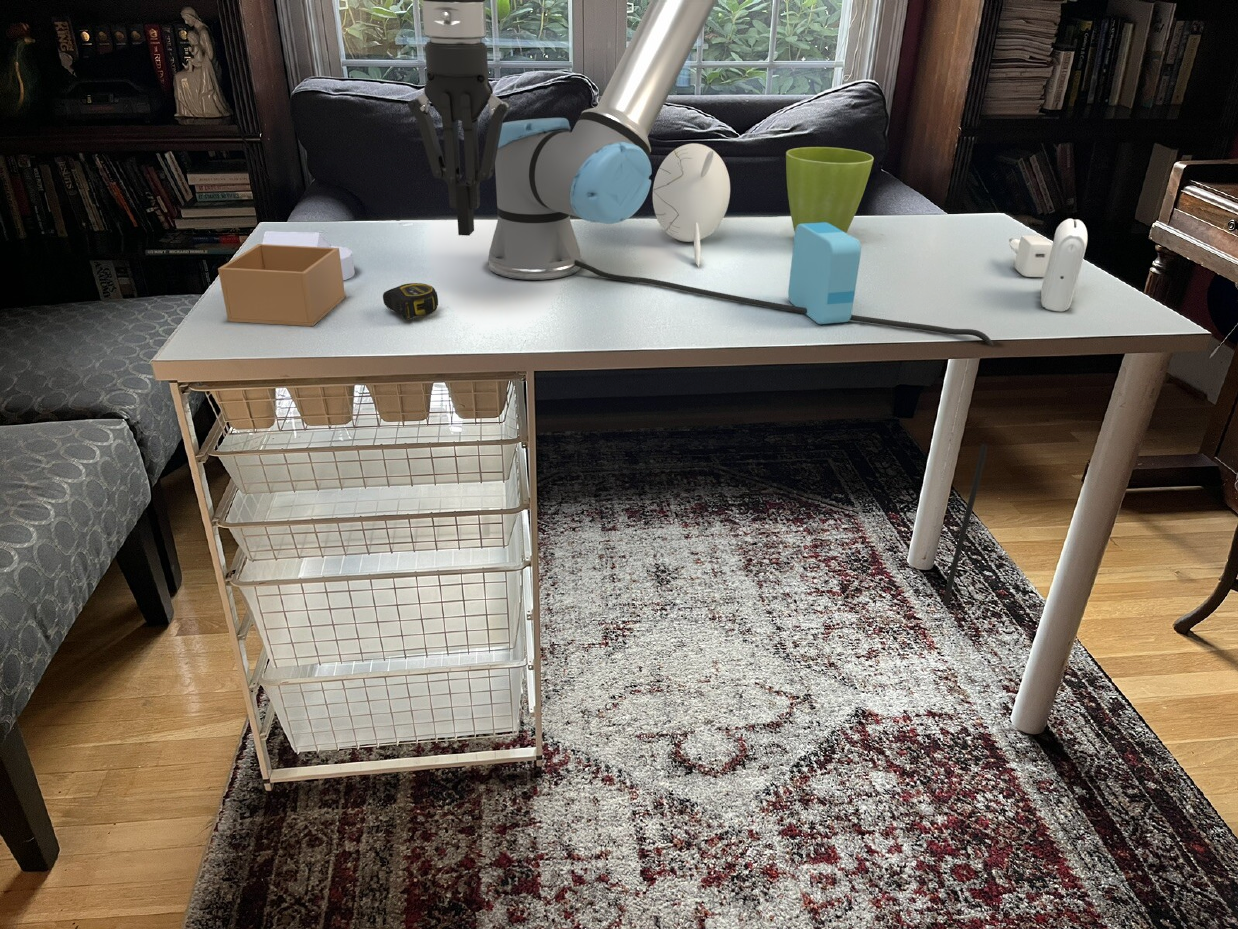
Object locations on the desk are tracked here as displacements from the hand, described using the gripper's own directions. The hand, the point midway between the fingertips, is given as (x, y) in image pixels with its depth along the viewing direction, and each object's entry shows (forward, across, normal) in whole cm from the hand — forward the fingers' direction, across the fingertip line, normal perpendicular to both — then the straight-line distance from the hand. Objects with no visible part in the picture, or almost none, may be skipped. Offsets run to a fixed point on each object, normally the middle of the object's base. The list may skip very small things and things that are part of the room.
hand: (466, 232), depth 124 cm
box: (+13, -27, 0) cm, 30 cm away
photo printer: (+12, +86, +22) cm, 90 cm away
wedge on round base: (+13, -30, +16) cm, 36 cm away
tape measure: (+13, -9, 0) cm, 15 cm away
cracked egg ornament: (+12, +29, +43) cm, 54 cm away
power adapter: (+12, +86, +39) cm, 95 cm away
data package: (+12, +49, +11) cm, 52 cm away
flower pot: (+12, +52, +47) cm, 71 cm away
